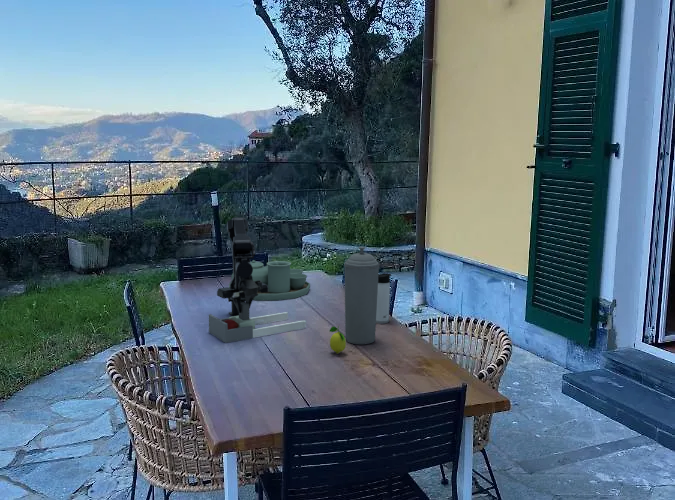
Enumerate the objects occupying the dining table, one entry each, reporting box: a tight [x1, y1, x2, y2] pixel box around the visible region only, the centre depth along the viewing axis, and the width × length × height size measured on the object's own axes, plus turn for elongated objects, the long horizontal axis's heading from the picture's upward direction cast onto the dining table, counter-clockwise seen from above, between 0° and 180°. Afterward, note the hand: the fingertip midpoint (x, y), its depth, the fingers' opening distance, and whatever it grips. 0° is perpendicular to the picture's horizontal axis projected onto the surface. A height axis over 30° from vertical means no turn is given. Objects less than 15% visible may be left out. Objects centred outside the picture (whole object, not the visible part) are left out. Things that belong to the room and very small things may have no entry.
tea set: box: [228, 259, 311, 302], centre depth 294 cm, size 40×40×16 cm
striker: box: [228, 302, 264, 329], centre depth 228 cm, size 10×12×11 cm
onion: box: [224, 319, 239, 330], centre depth 225 cm, size 6×6×8 cm
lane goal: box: [208, 311, 307, 344], centre depth 231 cm, size 15×34×7 cm, turn 124°
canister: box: [343, 246, 380, 345], centre depth 218 cm, size 13×13×35 cm
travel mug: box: [376, 273, 392, 325], centre depth 244 cm, size 6×7×20 cm
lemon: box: [329, 325, 347, 355], centre depth 206 cm, size 7×6×10 cm
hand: (243, 312), depth 227 cm, fingers open, 3 cm apart
